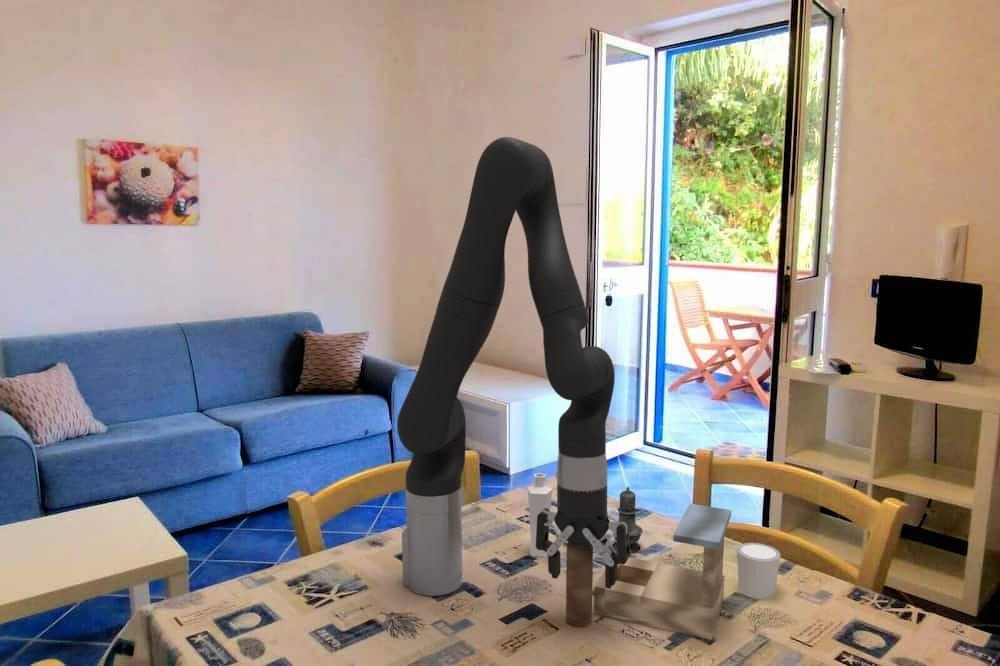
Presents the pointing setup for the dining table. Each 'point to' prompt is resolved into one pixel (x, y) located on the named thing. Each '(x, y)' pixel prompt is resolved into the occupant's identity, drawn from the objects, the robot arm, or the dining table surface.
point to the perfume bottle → (538, 508)
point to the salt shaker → (629, 519)
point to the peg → (579, 585)
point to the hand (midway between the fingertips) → (582, 581)
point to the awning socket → (673, 581)
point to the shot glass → (757, 570)
